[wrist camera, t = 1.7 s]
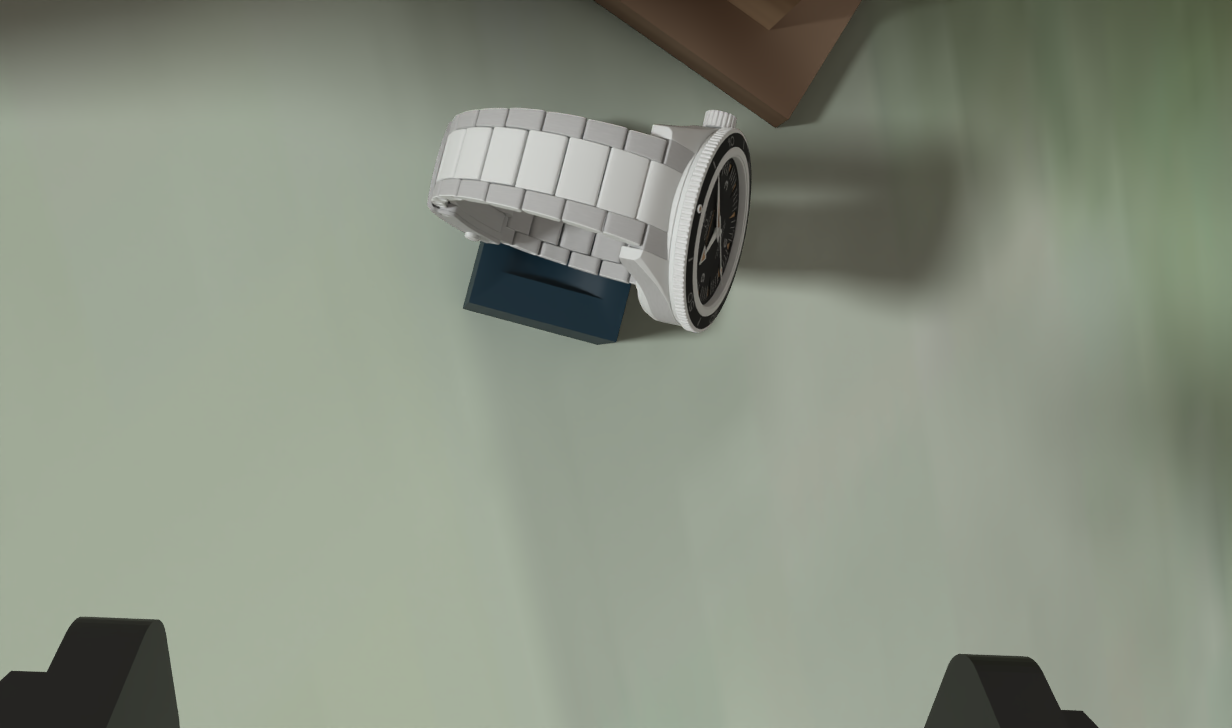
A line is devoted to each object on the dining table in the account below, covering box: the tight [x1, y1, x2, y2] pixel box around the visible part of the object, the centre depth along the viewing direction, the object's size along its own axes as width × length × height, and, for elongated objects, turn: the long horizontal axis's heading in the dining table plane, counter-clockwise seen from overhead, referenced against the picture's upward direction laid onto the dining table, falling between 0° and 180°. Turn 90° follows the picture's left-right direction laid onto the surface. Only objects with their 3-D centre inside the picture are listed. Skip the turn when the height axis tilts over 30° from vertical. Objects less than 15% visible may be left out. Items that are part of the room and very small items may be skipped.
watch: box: [427, 108, 751, 345], centre depth 29 cm, size 6×8×11 cm
